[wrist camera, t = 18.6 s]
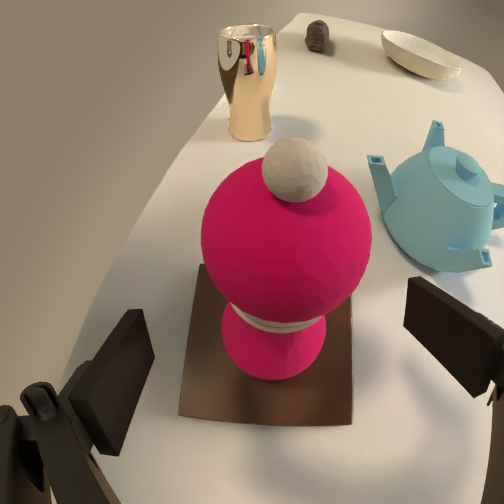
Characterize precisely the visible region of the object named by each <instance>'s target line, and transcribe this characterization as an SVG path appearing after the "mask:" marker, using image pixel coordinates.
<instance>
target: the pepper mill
mask: <svg viewBox="0 0 504 504" xmlns="http://www.w3.org/2000/svg"><path fill="white" fill-rule="evenodd" d="M371 241H372V234H371V224H370V220H369V216H368V213H367V210H366V207H365V205H364V202H363V200H362V199H361V197H360V195H359V194H358V192H357V191H356V189H355V188H354V187H353V185H352V184H351V183H350V182H349V181H348V180H347V179H346V178H345V177H344V176H343V175H341V174H340V173H338V172H337V171H336V170H334V169H333V168H331V167H329V166H327V163H326V159H325V156H324V155H323V153H322V151H321V150H320V149H319V148H318V147H317V146H316V145H315V144H313V143H312V142H310V141H308V140H306V139H302V138H295V137H292V138H287V139H283V140H280V141H279V142H277V143H276V144H274V145H273V146H271V147H270V149H269V150H268V152H267V153H266V155H265V156H264V157H263V158H259V159H256V160H254V161H251V162H248V163H246V164H245V165H243V166H242V167H240V168H239V169H237V170H236V171H234V172H233V173H231V174H230V175H229V176H228V177H227V178H226V179H225V180H224V181H223V182H222V183H221V184H220V185H219V187H218V188H217V189H216V191H215V192H214V193H213V195H212V196H211V198H210V200H209V203H208V205H207V207H206V209H205V212H204V216H203V220H202V229H201V247H202V253H203V259H204V262H205V265H206V268H207V271H208V273H209V275H210V277H211V278H212V280H213V282H214V284H215V286H216V287H217V289H218V290H219V291H220V292H221V293H222V295H223V296H224V297H225V298H226V299H227V300H228V301H229V302H228V304H227V306H226V308H225V310H224V313H223V317H222V323H221V330H222V339H223V343H224V347H225V349H226V351H227V354H228V355H229V357H230V358H231V360H232V361H233V362H234V363H235V364H236V365H237V366H238V367H239V368H240V369H241V370H243V371H244V372H246V373H248V374H250V375H251V376H254V377H257V378H260V379H266V380H280V379H286V378H289V377H292V376H295V375H297V374H299V373H300V372H302V371H304V370H305V369H306V368H307V367H309V366H310V365H311V364H312V362H313V361H314V360H315V359H316V357H317V356H318V354H319V352H320V350H321V348H322V345H323V342H324V339H325V335H326V319H325V314H327V313H329V312H330V311H332V310H334V309H335V308H337V307H338V306H339V305H340V304H341V303H342V302H343V301H344V300H345V299H347V298H348V297H349V296H350V295H351V293H352V292H353V291H354V290H355V289H356V287H357V285H358V284H359V282H360V280H361V278H362V276H363V274H364V272H365V269H366V266H367V263H368V261H369V257H370V250H371Z"/></svg>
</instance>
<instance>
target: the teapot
mask: <svg viewBox="0 0 504 504" xmlns="http://www.w3.org/2000/svg"><path fill="white" fill-rule="evenodd" d="M367 159H368V164H369V168H370V171H371V174H372V178H373V181H374V185H375V189H376V192H377V196H378V200H379V203H380V207H381V211H382V213H383V217H384V220H385V223H386V225H387V227H388V230H389V231H390V233H391V235H392V237H393V238H394V239H395V241H396V242H397V244H398V245H399V246H400V247H401V248H402V249H403V250H404V251H405V252H406V253H407V254H408V255H409V256H410V257H412V258H413V259H414V260H416V261H418V262H419V263H421V264H423V265H425V266H427V267H430V268H433V269H436V271H445V272H457V273H458V272H464V271H470V270H476V269H481V268H487V267H491V266H492V263H491V258H490V254H489V250H488V249H484V247H485V246H486V243H487V241H488V239H489V236H490V233H491V230H494V229H498V228H502V227H504V185H501V184H496V183H491V182H490V180H489V178H488V177H487V175H486V173H485V172H484V171H483V169H482V168H481V167H480V166H479V164H478V162H477V161H476V160H475V159H474V158H473V157H471V156H470V155H468V154H466V153H462V152H461V151H459V150H456V149H454V148H450V147H445V146H444V127H443V125H442V123H441V122H438V121H435V120H433V122H432V125H431V128H430V131H429V134H428V136H427V139H426V142H425V145H424V147H423V150H422V152H420V153H418V154H416V155H414V156H412V157H410V158H408V159H407V160H406V161H404V162H403V163H402V164H401V165H399V166H398V167H397V168H396V170H395V171H394V172H393V173H392V174H391V175H390V174H389V171H388V169H387V167H386V165H385V162H384V158H383V156H372V155H367ZM494 203H498V204H497V206H496V207H495V208H494Z"/></svg>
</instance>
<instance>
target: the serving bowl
mask: <svg viewBox="0 0 504 504" xmlns="http://www.w3.org/2000/svg"><path fill="white" fill-rule="evenodd" d="M382 45H383V48H384V50H385V51H386V53H387V54H388V55H389V57H390V58H392V59H393V60H394V61H395V62H396V63H398V64H399V65H401V66H402V67H404V68H406V69H407V70H409V71H411V72H413V73H415V74H417V75H420V76H423V77H427V78H430V79H434V80H441V81H444V80H450V79H453V78H454V77H456V76H457V75H458V74H459V72H460V71H461V69H462V64H461V63H460V62H459V61H458V60H457V59H456V58H455V57H454V56H453V55H451V54H450V53H448V52H447V51H445V50H444V49H442V48H441V47H439V46H437V45H435V44H433V43H431V42H429V41H426V40H424V39H422V38H419V37H417V36H414V35H411V34H408V33H404V32H399V31H393V30H386V31H383V32H382Z"/></svg>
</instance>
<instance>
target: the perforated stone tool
mask: <svg viewBox="0 0 504 504" xmlns="http://www.w3.org/2000/svg"><path fill="white" fill-rule="evenodd" d="M328 39H329V30H328V26H327V25H326V23H325V22H323V21H321V20H317V21H314V22H312V23H311V24H309V26H308V28H307V37H306V38H305V42H306V45H307V46H308V48H309V49H311V50H314V51H319V52H321V51H323V50H324V49H325V47H326V45H327V43H328Z"/></svg>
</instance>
